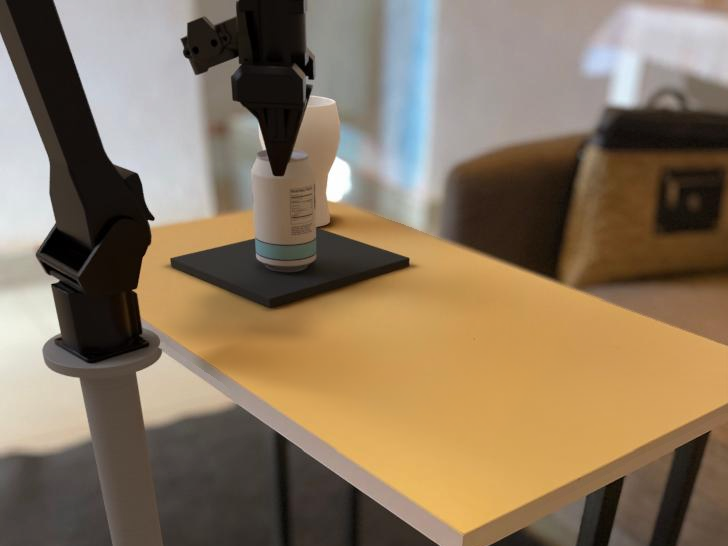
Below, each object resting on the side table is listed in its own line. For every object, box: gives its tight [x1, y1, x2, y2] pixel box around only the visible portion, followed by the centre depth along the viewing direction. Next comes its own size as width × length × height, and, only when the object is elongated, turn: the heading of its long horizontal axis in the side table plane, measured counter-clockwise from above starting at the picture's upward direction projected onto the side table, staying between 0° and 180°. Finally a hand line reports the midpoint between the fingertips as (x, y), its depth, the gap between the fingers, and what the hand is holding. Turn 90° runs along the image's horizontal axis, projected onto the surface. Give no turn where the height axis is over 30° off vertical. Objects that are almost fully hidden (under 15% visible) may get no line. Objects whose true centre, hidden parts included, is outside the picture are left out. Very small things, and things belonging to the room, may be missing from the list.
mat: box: [169, 227, 411, 309], centre depth 100 cm, size 22×18×1 cm
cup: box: [257, 95, 341, 228], centre depth 112 cm, size 11×11×15 cm
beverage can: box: [250, 149, 317, 272], centre depth 94 cm, size 7×7×12 cm
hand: (281, 169), depth 84 cm, fingers open, 5 cm apart
